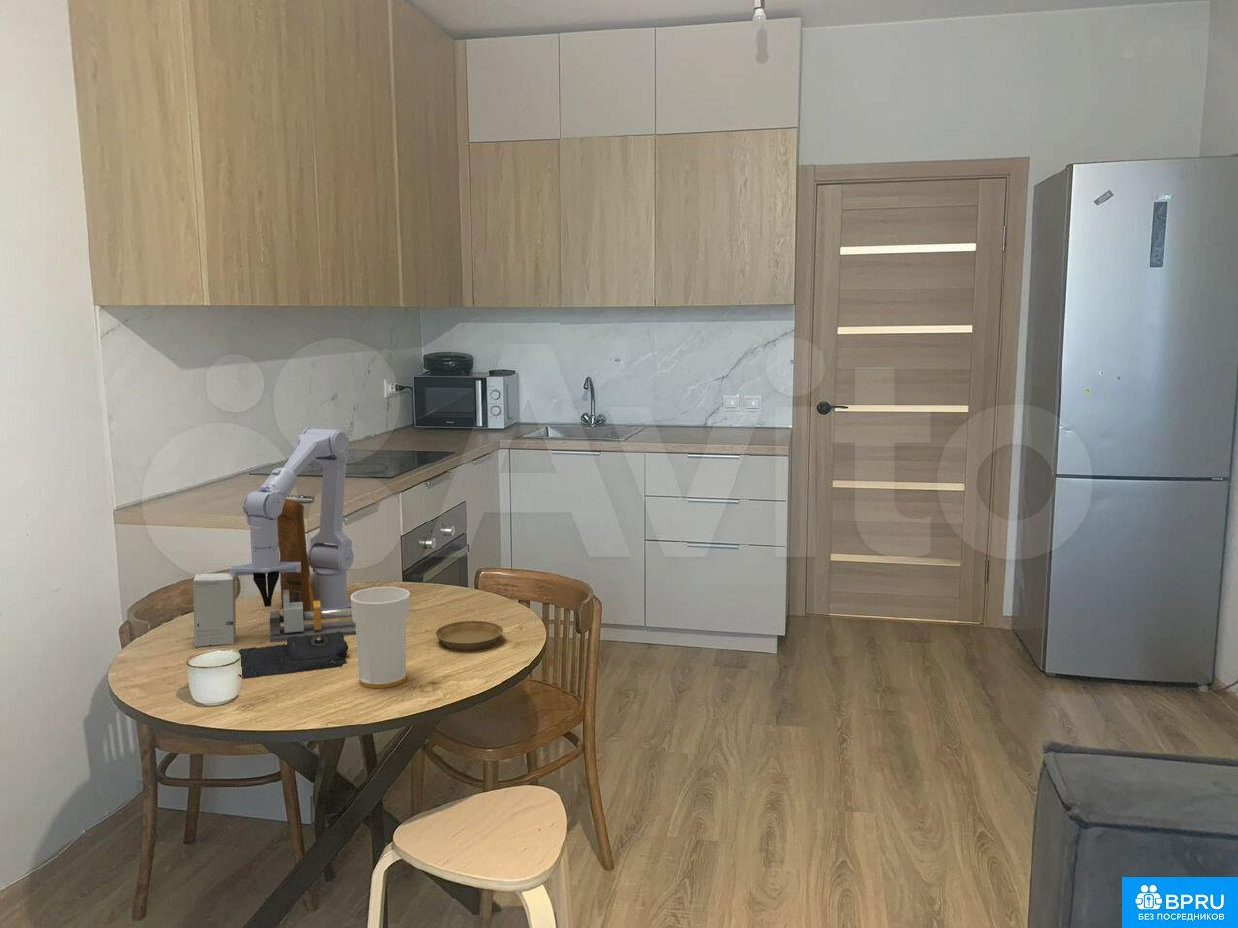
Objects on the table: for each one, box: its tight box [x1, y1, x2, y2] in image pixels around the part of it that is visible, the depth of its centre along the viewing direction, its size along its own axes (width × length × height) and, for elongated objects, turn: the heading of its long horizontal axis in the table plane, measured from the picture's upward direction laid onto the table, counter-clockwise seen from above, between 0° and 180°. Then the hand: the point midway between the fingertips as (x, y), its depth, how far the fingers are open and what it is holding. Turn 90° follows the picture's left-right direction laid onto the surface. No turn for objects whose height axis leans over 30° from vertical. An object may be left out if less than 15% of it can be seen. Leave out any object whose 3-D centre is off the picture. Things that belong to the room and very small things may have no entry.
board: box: [269, 619, 356, 643], centre depth 217 cm, size 26×8×1 cm, turn 108°
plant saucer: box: [434, 620, 504, 651], centre depth 211 cm, size 15×15×3 cm
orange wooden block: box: [313, 601, 322, 630], centre depth 216 cm, size 2×5×5 cm, turn 18°
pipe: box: [269, 607, 352, 637], centre depth 217 cm, size 26×5×5 cm, turn 108°
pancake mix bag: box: [277, 498, 314, 612], centre depth 230 cm, size 7×19×28 cm, turn 38°
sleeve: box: [282, 590, 305, 633], centre depth 214 cm, size 4×5×8 cm
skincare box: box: [192, 572, 237, 648], centre depth 209 cm, size 8×6×15 cm
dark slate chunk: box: [237, 631, 349, 679], centre depth 199 cm, size 15×22×5 cm
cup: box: [350, 586, 411, 689], centre depth 188 cm, size 11×11×17 cm
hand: (267, 605), depth 212 cm, fingers closed
